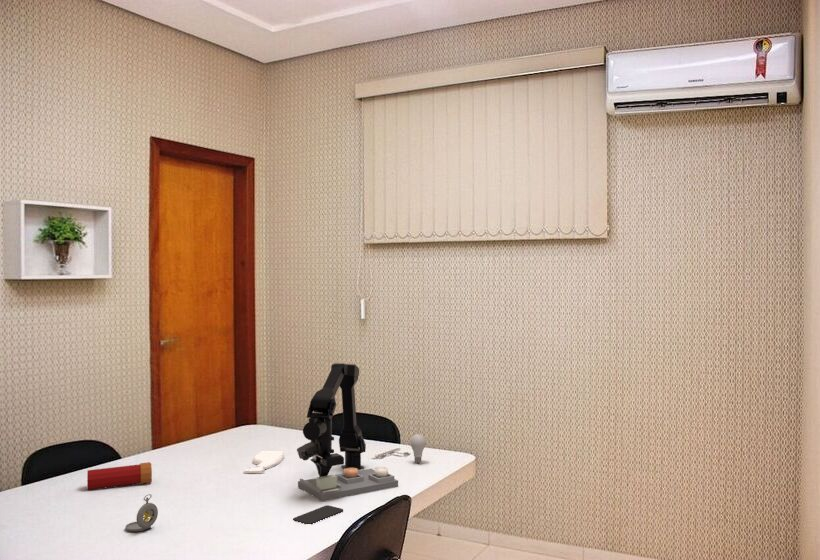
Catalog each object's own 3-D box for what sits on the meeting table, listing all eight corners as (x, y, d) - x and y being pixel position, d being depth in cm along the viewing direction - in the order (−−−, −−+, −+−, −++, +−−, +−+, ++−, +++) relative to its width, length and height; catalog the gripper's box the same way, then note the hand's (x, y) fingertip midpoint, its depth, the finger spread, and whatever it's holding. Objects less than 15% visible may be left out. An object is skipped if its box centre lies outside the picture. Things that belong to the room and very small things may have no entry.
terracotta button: (341, 474, 228) (341, 468, 228) (353, 472, 230) (353, 466, 230) (348, 478, 224) (348, 472, 224) (360, 475, 226) (360, 469, 226)
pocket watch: (130, 524, 190) (130, 489, 190) (160, 524, 191) (160, 488, 191) (120, 535, 182) (120, 498, 182) (152, 534, 183) (152, 497, 183)
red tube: (152, 485, 228) (152, 465, 228) (86, 492, 220) (87, 470, 220) (151, 480, 235) (151, 460, 235) (87, 486, 226) (87, 465, 227)
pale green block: (316, 488, 217) (316, 477, 217) (333, 485, 221) (333, 474, 221) (319, 490, 215) (319, 479, 215) (336, 487, 219) (336, 476, 219)
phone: (291, 518, 194) (326, 504, 206) (291, 521, 194) (326, 507, 206) (309, 524, 190) (345, 509, 202) (309, 527, 190) (345, 512, 202)
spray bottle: (286, 458, 266) (269, 476, 241) (259, 457, 267) (239, 475, 242) (286, 450, 266) (269, 468, 241) (259, 450, 267) (239, 467, 242)
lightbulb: (424, 465, 254) (424, 436, 254) (408, 464, 255) (408, 435, 255) (427, 461, 260) (427, 433, 260) (411, 460, 261) (411, 432, 261)
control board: (298, 487, 226) (298, 476, 226) (370, 474, 242) (370, 464, 242) (322, 501, 211) (322, 490, 211) (398, 486, 227) (398, 476, 227)
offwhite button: (372, 474, 229) (372, 468, 229) (383, 472, 231) (383, 466, 231) (379, 477, 225) (379, 471, 225) (390, 475, 227) (390, 469, 227)
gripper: (288, 431, 223) (287, 478, 223) (313, 442, 208) (312, 493, 208) (318, 427, 230) (318, 473, 229) (344, 437, 214) (344, 487, 214)
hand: (322, 481), depth 220 cm, fingers closed
